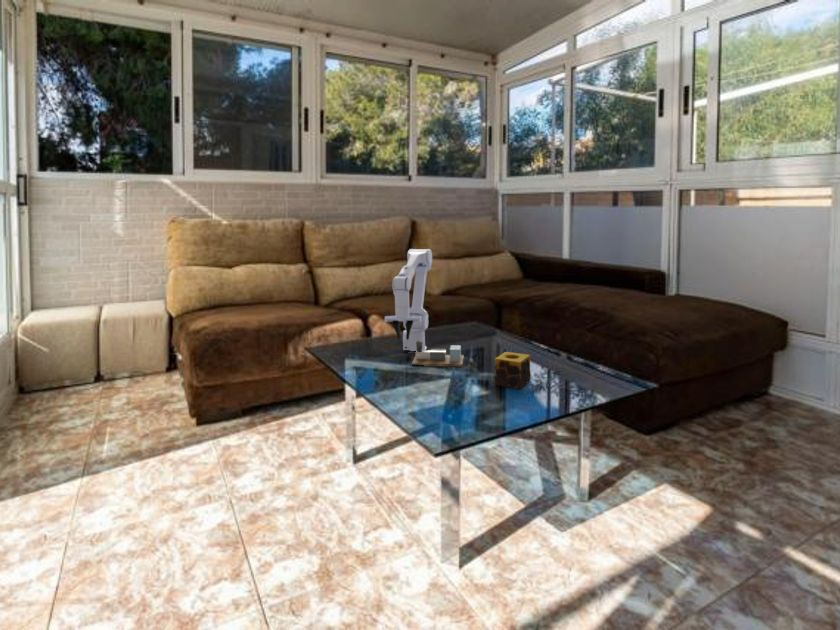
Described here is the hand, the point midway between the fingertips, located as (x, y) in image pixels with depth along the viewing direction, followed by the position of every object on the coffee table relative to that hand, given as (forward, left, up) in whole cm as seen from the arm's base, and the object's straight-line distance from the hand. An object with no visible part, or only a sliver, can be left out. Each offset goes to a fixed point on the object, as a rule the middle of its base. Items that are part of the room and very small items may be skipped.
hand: (403, 338), depth 227 cm
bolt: (+11, 0, -8) cm, 14 cm away
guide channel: (+14, 0, -9) cm, 17 cm away
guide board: (+14, 0, -9) cm, 17 cm away
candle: (+43, -24, -10) cm, 50 cm away
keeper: (+21, 0, -9) cm, 23 cm away
